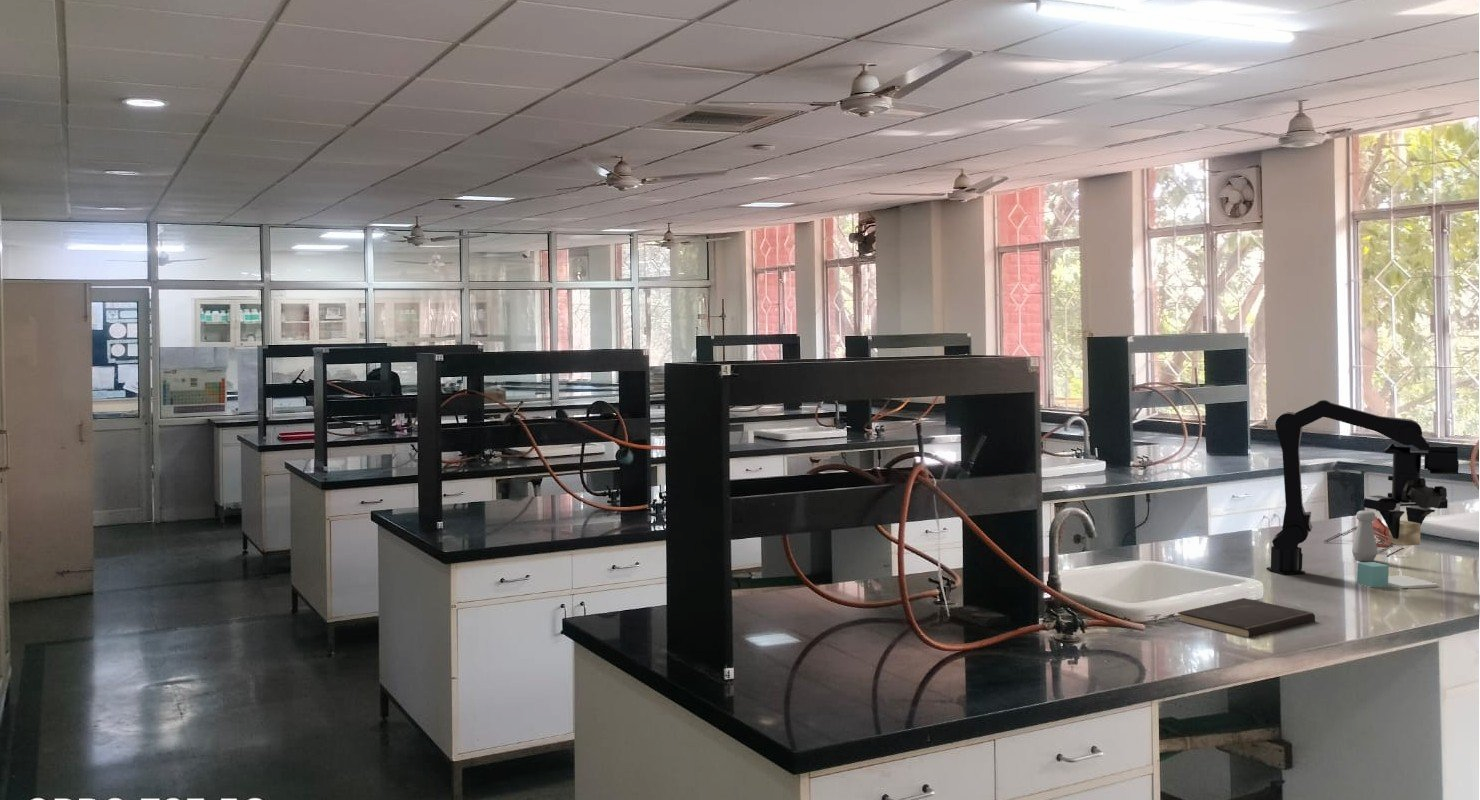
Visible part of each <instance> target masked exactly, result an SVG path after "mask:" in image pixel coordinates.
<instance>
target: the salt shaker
mask: <svg viewBox="0 0 1480 800" xmlns="http://www.w3.org/2000/svg"><path fill="white" fill-rule="evenodd" d="M1355 516H1356V520H1358V522H1357V526H1358V527H1357V529H1356V530H1355V531H1356V532H1355V535H1354V540H1353V545H1352V547H1351V548H1352V549H1351V553H1352V555H1353V557H1354V560H1355V561H1357V560H1358V562H1362V561H1363V562H1362V563H1365V562H1375V559H1376V557H1377V555H1378V554H1377V552H1378V547H1377V546H1376V543H1377V542H1376V541H1377V540H1375V535H1374V530H1373V521H1374V520H1375V517H1376V513H1375V512H1374V511H1370V510H1358V511H1357V512H1356V515H1355Z"/></svg>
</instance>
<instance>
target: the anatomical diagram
mask: <svg viewBox="0 0 1480 800" xmlns="http://www.w3.org/2000/svg"><path fill="white" fill-rule="evenodd" d="M1372 524H1373V530H1374V536H1375V541H1377V542H1376V546H1377V548H1382V549H1381V550H1379V551H1378V550H1377V555H1379V554H1381V553H1384V552H1386V551H1388V550H1389V549H1391V548H1394V546H1393V545H1396V546H1397V544H1395V543H1391V542H1389V528H1388V526H1387V525H1385V524H1384V523H1383V522H1382V520H1381V518H1379V517H1377V516H1375V520H1374V521H1372ZM1357 527H1358V525H1357V526H1354V527H1351V528H1350V529H1349V528H1348V529H1347V530H1346V531H1344V532H1341V533H1339V532H1338V533H1337V534H1335V535H1333V536H1331V537H1330V538H1327V539H1325V540H1323V541H1324V542H1326V543H1328V542H1331V541H1332V540H1334V539H1337V538H1340V537H1344V536H1346V535H1347V536H1348V534H1350V533H1352V532H1354V531H1357ZM1379 540H1380V541H1379ZM1381 541H1382V543H1381ZM1324 542H1323V543H1324ZM1392 544H1393V545H1392ZM1391 545H1392V546H1391ZM1404 549H1405V547H1400V548H1399V549H1397V550H1395V551H1393V552H1391V553H1389V554H1387V555H1386V557H1388V558H1389V557H1390V556H1392V555H1394V554H1396V553H1398V552H1401V551H1402V550H1404Z"/></svg>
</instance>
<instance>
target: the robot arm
mask: <svg viewBox="0 0 1480 800" xmlns="http://www.w3.org/2000/svg"><path fill="white" fill-rule="evenodd" d="M1322 418H1327V419H1331V420H1335V421H1337V422H1338V421H1339V422H1342V423H1345V424H1349V425H1352V426H1356V427H1360V428H1362V429H1365V430H1366V429H1367V430H1369V431H1373V432H1377V433H1379V434H1380V435H1382V436H1384V437H1386V438H1388V439H1390V440H1392V441H1394V442H1397V443H1399V444H1402V445H1404V446H1399V445H1398V446H1397V445H1396V444H1395V443H1394V442H1391V443H1390V444H1389V446H1388V447H1386V448H1385V449H1384V453H1385V454H1392V474H1391V475H1388V476H1387V480H1388V481H1391V483H1392V484H1391V492H1387V496H1383V495H1366V496H1365V497H1364V498H1363V508H1366V509H1369V510H1370V509H1371V510H1375V511H1376V512H1379V514H1380V516H1381V517H1382V519H1383V520H1384V522H1385V524H1386V527H1388V528H1389V530H1390V532H1391V534H1392V536H1393V538H1394V539H1398V536H1399V528H1400V521H1401V517H1402V516H1403V515H1404V514H1405V511H1404V510H1401V507H1405V510H1406V517H1407V521H1410V522H1415V523H1420V524H1421V525H1423V523H1424V520H1425V519H1426V517H1427V516H1428V515H1430V514H1432V513H1435V511H1436V510H1435V509H1448V499H1447V497H1448V492H1447V488H1446V487H1445V486H1444V485H1440V486H1437V485H1436V486H1434V487H1431V486H1427V485H1426V482H1427V481H1426V478H1424V477H1422V476H1421V473H1422V470H1421V469H1422V456H1424V457H1423V458H1424V459H1423V460H1424V461H1423V462H1424V464H1423V469H1424V470H1427V471H1429V475H1443V476H1459V465H1460V463H1459V462H1460V461H1459V456H1458V455H1459V453H1458V449H1459V447H1458V446H1457V445H1446V446H1443V445H1442V446H1441V445H1430V442H1429V441H1428V440H1426V439H1425V437H1424V436H1423V429H1422V427H1421V425H1420V423H1418V422H1417V420H1413V419H1408V418H1401V417H1390V416H1382V415H1378V414H1377V415H1376V414H1374V413H1369V412H1366V411H1362V410H1358V409H1356V408H1352V407H1349V406H1344V405H1341V404H1337V403H1334V402H1331V401H1329V400H1326V399H1321V400H1318V401H1317V402H1316V403H1315V404H1312V405H1309V406H1307V407H1305V408H1304V409H1303V408H1302V409H1301V410H1299V411H1297V412H1291V411H1289V412H1288V411H1287V412H1285V413H1282V414H1281V415H1279V416H1278V417H1277V419H1276V420H1275V424H1274V426H1275V431H1276V435H1277V439H1278V442H1279V445H1280V447H1281V451H1282V466H1283V478H1284V479H1283V481H1284V497H1285V498H1284V499H1285V500H1284V501H1285V508H1284V514H1283V515H1284V516H1283V521H1282V527H1281V528H1282V530H1280V532H1279V531H1278V533H1277V534H1275V535H1274V537H1273V539H1272V544H1273V545H1271V546H1270V547H1271V548H1270V567H1269V566H1268V567H1266V570H1267V571H1271V572H1274V573H1278V574H1280V575H1297V574H1306V571H1305V570H1303V555H1304V554H1303V553H1302V549H1303V548H1302V547H1300V546H1299V544H1302V543H1304V541H1306V540H1307V538H1308V536H1309V534H1310V533H1311V532H1312V529H1313V525H1312V523H1311V522H1312V521H1311V517H1312V511H1307V512H1306V511H1305V507H1304V503H1303V489H1302V475H1301V474H1302V473H1301V472H1302V471H1301V460H1300V459H1301V458H1300V457H1301V456H1300V446H1301V439H1302V436H1303V435H1302V434H1303V433H1302V432H1303V427H1305V426H1307V425H1309V424H1311V423H1313V422H1315V421H1317V420H1320V419H1322ZM1410 446H1413V447H1414V448H1416V449H1418V450H1417V451H1416V450H1411V447H1410ZM1432 508H1433V509H1432Z"/></svg>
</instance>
